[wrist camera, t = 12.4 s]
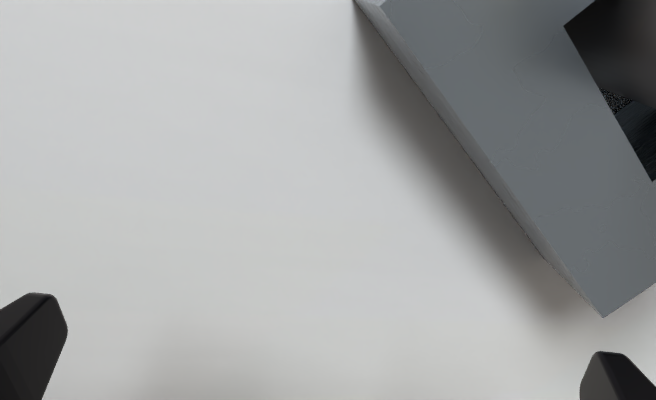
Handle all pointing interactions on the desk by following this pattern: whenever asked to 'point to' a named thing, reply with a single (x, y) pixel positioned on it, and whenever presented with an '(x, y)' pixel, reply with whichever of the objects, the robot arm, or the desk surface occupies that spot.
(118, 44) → the desk surface
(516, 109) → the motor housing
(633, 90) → the plug
